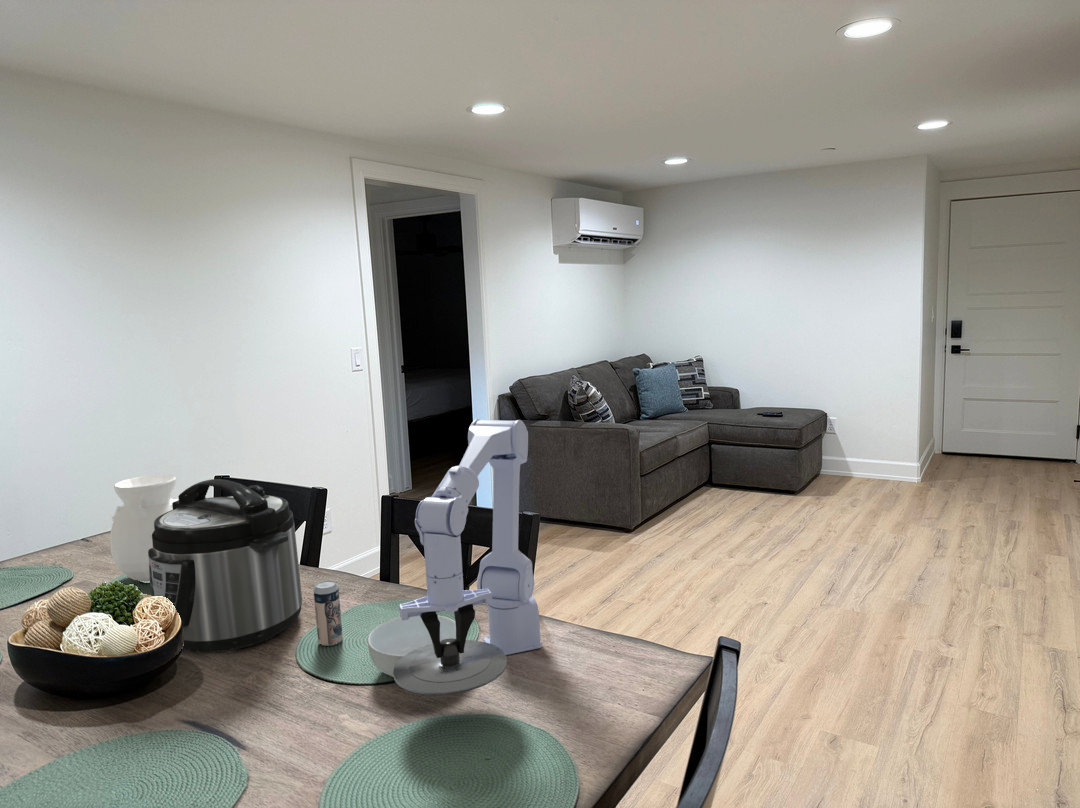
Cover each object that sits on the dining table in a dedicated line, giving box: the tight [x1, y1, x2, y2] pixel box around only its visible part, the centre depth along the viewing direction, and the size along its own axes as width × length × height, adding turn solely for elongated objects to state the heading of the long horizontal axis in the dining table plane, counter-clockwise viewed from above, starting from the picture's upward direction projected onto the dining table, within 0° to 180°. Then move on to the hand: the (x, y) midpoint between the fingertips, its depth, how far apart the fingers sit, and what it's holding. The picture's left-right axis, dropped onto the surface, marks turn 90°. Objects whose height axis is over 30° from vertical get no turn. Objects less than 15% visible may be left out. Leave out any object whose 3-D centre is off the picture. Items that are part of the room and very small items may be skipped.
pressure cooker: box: [148, 478, 303, 654], centre depth 154 cm, size 30×28×32 cm
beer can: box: [313, 580, 344, 646], centre depth 147 cm, size 5×5×12 cm
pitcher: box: [109, 474, 179, 581], centre depth 185 cm, size 19×18×25 cm
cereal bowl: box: [367, 614, 456, 678], centre depth 135 cm, size 17×17×7 cm
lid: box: [393, 638, 508, 696], centre depth 119 cm, size 18×18×4 cm
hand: (449, 652), depth 119 cm, fingers closed on lid, 3 cm apart
